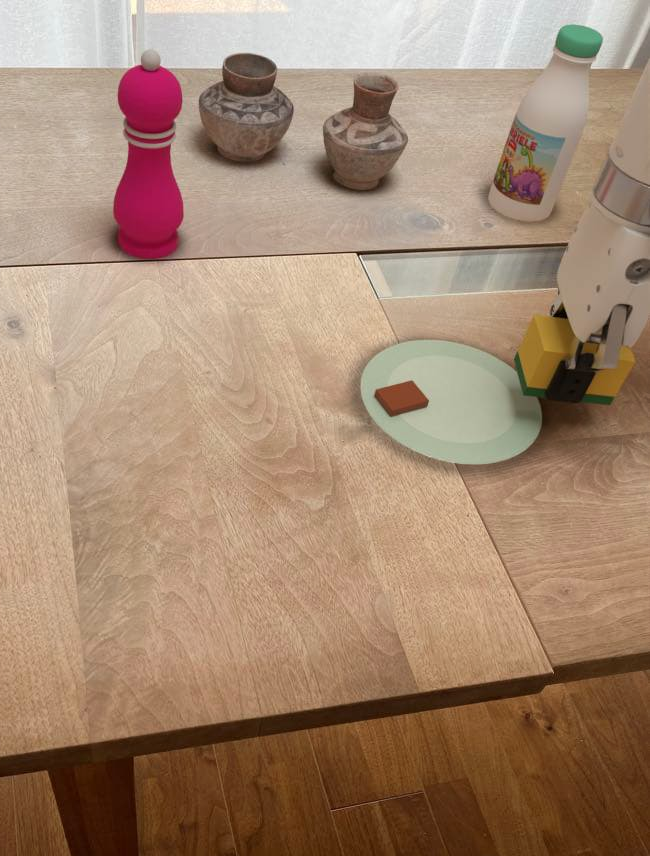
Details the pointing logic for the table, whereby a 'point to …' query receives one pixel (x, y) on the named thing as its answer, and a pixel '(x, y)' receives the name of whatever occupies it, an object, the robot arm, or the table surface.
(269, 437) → the table surface
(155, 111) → the pepper mill
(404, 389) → the block
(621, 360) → the sponge
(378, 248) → the table surface
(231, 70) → the pottery
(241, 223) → the table surface
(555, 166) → the milk bottle
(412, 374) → the plate
